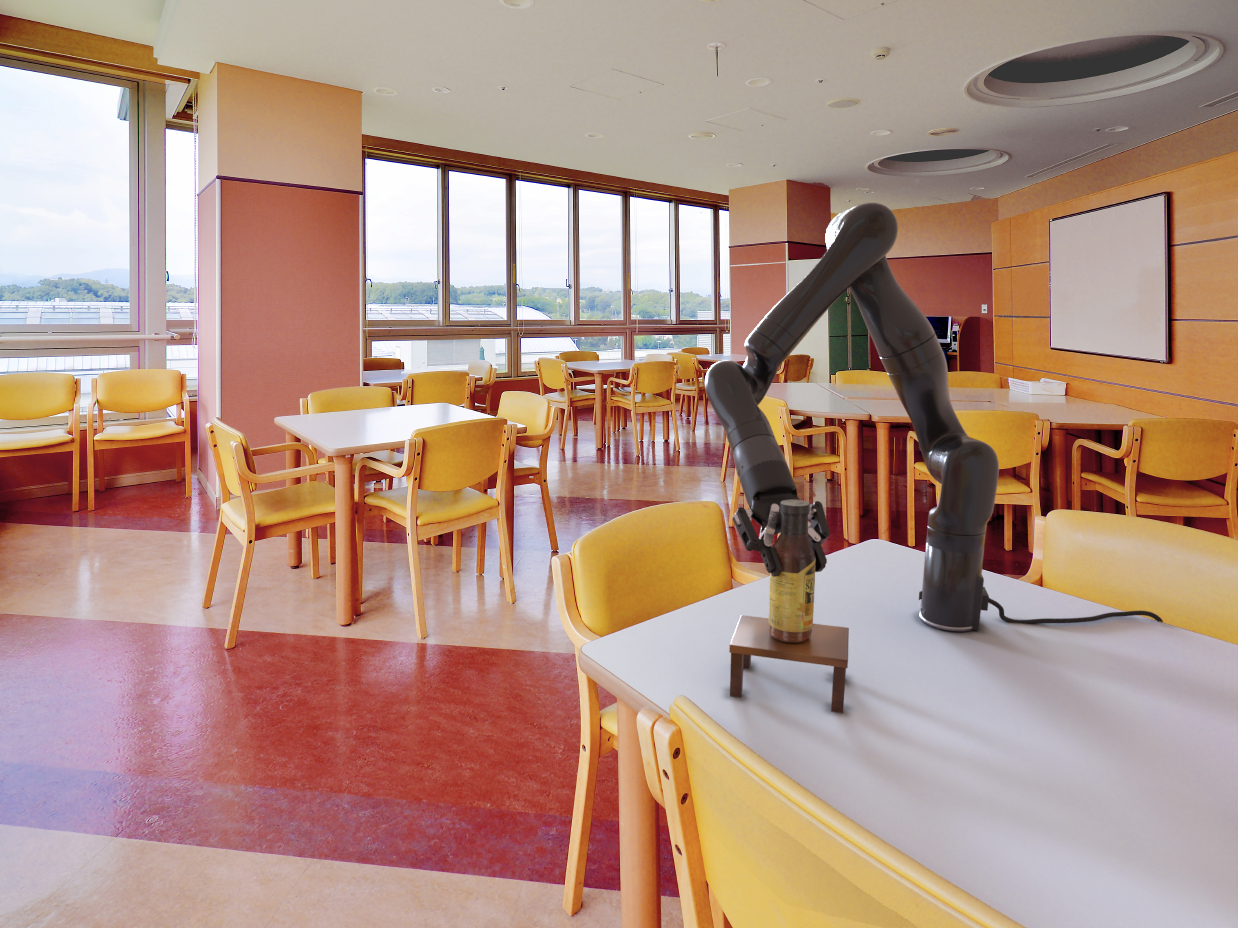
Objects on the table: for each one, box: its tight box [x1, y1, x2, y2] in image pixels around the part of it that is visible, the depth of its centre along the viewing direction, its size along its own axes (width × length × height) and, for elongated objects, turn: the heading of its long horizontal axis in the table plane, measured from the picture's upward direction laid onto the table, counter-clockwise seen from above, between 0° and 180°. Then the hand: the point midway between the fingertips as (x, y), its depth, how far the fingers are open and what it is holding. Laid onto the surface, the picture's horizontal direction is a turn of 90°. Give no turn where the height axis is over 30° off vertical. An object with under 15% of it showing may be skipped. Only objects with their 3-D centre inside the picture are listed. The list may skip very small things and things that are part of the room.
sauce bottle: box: [768, 499, 816, 643], centre depth 104 cm, size 6×6×20 cm
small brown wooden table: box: [728, 614, 850, 714], centre depth 107 cm, size 16×11×8 cm
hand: (799, 571), depth 102 cm, fingers closed on sauce bottle, 6 cm apart
